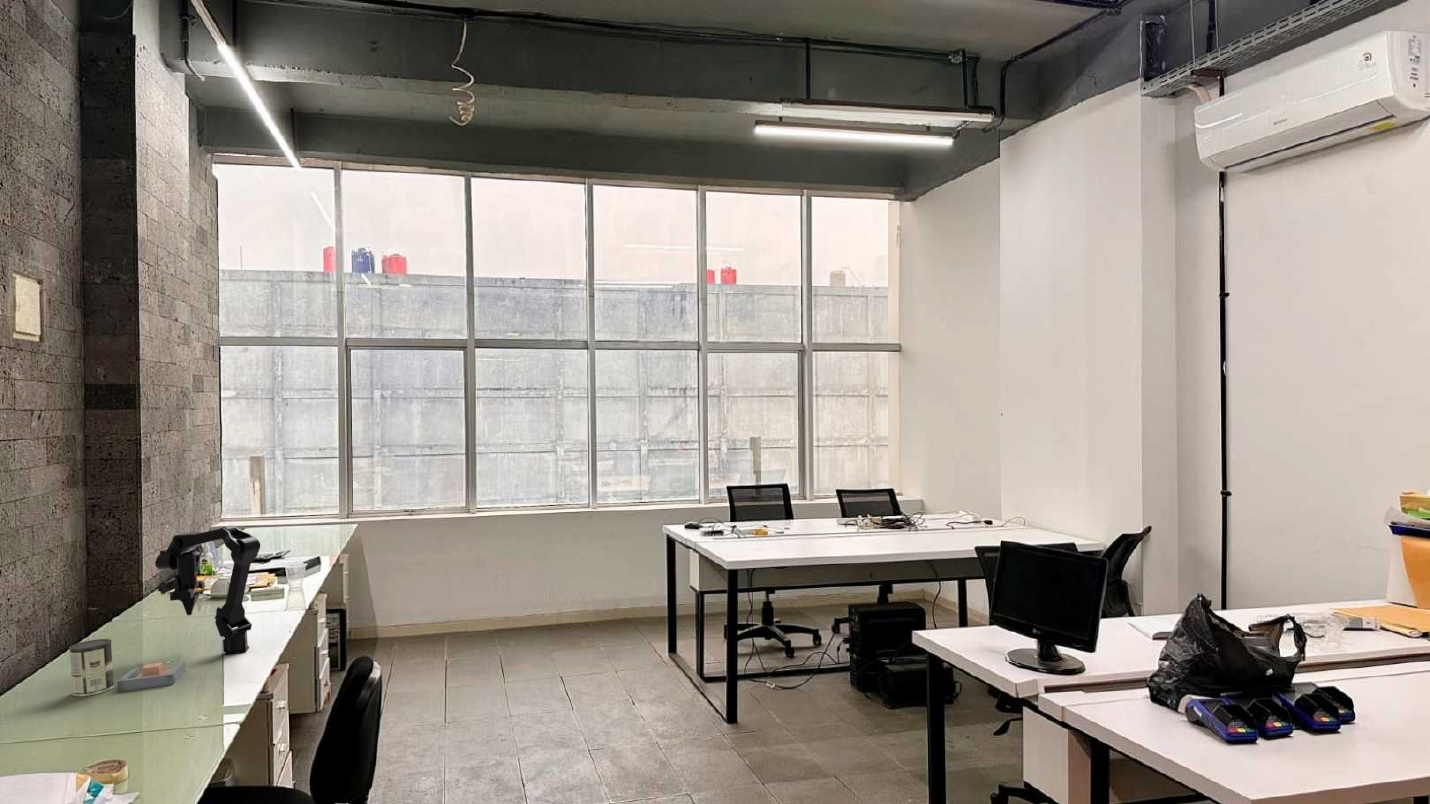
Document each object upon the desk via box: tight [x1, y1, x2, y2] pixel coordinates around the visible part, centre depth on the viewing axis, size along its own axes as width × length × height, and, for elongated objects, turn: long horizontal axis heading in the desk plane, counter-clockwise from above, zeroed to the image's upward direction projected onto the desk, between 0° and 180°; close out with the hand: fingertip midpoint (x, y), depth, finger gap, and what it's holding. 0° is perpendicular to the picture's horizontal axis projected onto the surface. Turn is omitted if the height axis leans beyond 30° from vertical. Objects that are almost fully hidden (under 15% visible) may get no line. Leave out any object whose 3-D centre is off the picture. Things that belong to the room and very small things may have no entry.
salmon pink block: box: [141, 661, 165, 677], centre depth 266 cm, size 4×4×3 cm
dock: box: [117, 661, 187, 692], centre depth 266 cm, size 14×14×3 cm
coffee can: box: [68, 638, 115, 697], centre depth 260 cm, size 10×10×14 cm
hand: (189, 615), depth 299 cm, fingers closed
